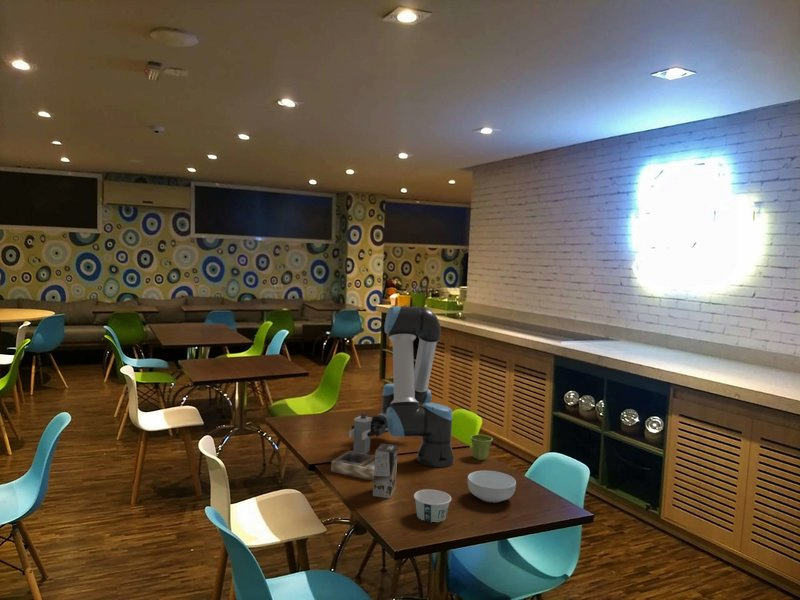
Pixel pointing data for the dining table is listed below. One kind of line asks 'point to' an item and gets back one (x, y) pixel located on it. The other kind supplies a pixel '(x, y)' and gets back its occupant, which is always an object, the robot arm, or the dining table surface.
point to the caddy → (355, 465)
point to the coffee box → (385, 470)
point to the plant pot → (481, 446)
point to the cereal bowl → (491, 485)
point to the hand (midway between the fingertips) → (356, 435)
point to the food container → (432, 505)
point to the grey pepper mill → (361, 426)
